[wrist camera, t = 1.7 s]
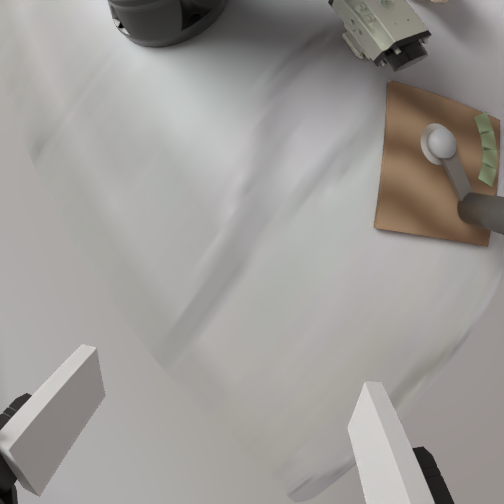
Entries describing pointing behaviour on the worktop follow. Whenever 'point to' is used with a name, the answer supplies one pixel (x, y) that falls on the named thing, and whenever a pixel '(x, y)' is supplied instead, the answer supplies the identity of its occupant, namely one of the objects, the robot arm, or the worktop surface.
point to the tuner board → (433, 164)
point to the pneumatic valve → (383, 31)
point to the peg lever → (466, 185)
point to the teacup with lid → (439, 1)
